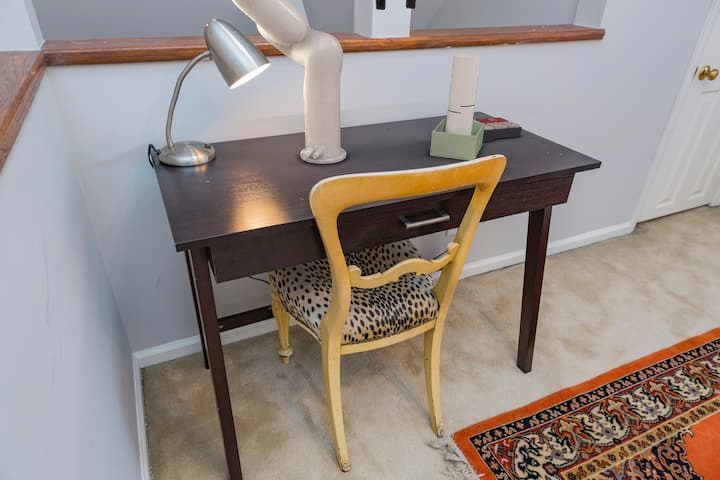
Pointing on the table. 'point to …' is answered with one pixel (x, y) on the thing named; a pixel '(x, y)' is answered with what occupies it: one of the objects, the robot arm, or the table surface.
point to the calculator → (499, 128)
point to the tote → (456, 142)
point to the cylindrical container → (462, 93)
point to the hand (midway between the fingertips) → (395, 9)
